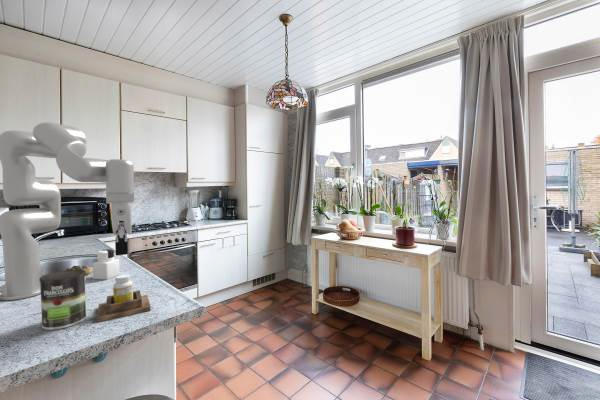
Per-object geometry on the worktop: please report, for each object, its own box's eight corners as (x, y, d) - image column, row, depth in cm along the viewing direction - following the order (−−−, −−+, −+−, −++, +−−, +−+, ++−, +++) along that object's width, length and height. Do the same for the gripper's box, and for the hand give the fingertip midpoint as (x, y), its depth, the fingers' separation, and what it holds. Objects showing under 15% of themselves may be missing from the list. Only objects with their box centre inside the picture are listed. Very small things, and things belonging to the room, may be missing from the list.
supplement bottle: (130, 307, 89) (129, 278, 88) (111, 309, 87) (109, 279, 87) (135, 300, 94) (134, 272, 93) (117, 302, 93) (116, 274, 92)
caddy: (96, 322, 82) (96, 309, 82) (99, 307, 92) (98, 296, 92) (150, 310, 89) (150, 299, 89) (147, 298, 99) (147, 287, 99)
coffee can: (81, 325, 80) (79, 277, 79) (34, 333, 76) (32, 282, 75) (91, 311, 89) (89, 267, 89) (50, 317, 85) (48, 271, 84)
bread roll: (55, 278, 121) (57, 267, 122) (74, 274, 132) (75, 263, 133) (82, 279, 122) (83, 267, 122) (99, 274, 133) (100, 263, 133)
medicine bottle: (106, 274, 127) (105, 248, 127) (120, 274, 126) (119, 248, 126) (92, 279, 120) (91, 251, 120) (107, 279, 119) (106, 252, 119)
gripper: (135, 199, 84) (136, 255, 85) (132, 197, 98) (133, 245, 99) (105, 200, 80) (106, 259, 81) (107, 197, 94) (108, 247, 95)
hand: (121, 251), depth 90 cm, fingers open, 9 cm apart
